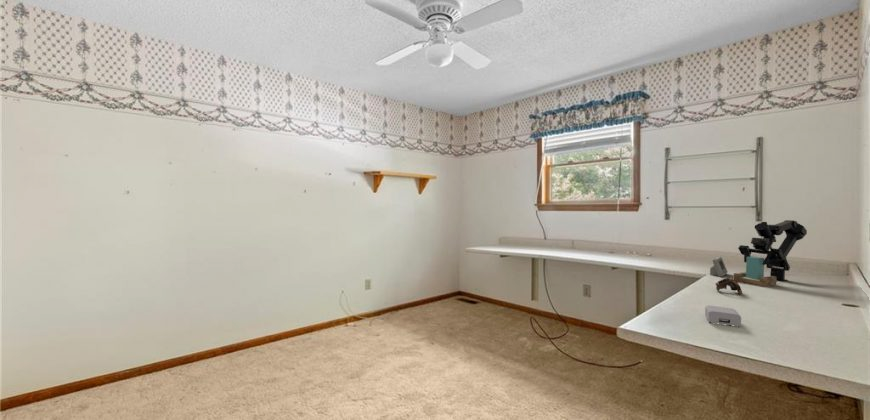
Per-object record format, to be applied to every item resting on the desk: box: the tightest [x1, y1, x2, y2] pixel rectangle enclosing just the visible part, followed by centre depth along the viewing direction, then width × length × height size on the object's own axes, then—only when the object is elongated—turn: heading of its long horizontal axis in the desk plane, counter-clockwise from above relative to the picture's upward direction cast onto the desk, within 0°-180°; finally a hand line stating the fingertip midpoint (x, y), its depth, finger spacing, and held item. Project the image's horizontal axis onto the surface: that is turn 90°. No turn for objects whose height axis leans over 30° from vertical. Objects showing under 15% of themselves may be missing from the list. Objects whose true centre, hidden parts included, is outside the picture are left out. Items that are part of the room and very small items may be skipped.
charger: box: [704, 305, 742, 326], centre depth 137 cm, size 5×9×15 cm
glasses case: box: [745, 256, 765, 280], centre depth 201 cm, size 6×6×12 cm
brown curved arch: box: [715, 277, 743, 296], centre depth 179 cm, size 12×10×8 cm
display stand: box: [733, 271, 777, 288], centre depth 201 cm, size 12×14×4 cm
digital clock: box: [709, 256, 729, 278], centre depth 223 cm, size 16×9×11 cm, turn 122°
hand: (753, 263), depth 200 cm, fingers open, 8 cm apart
